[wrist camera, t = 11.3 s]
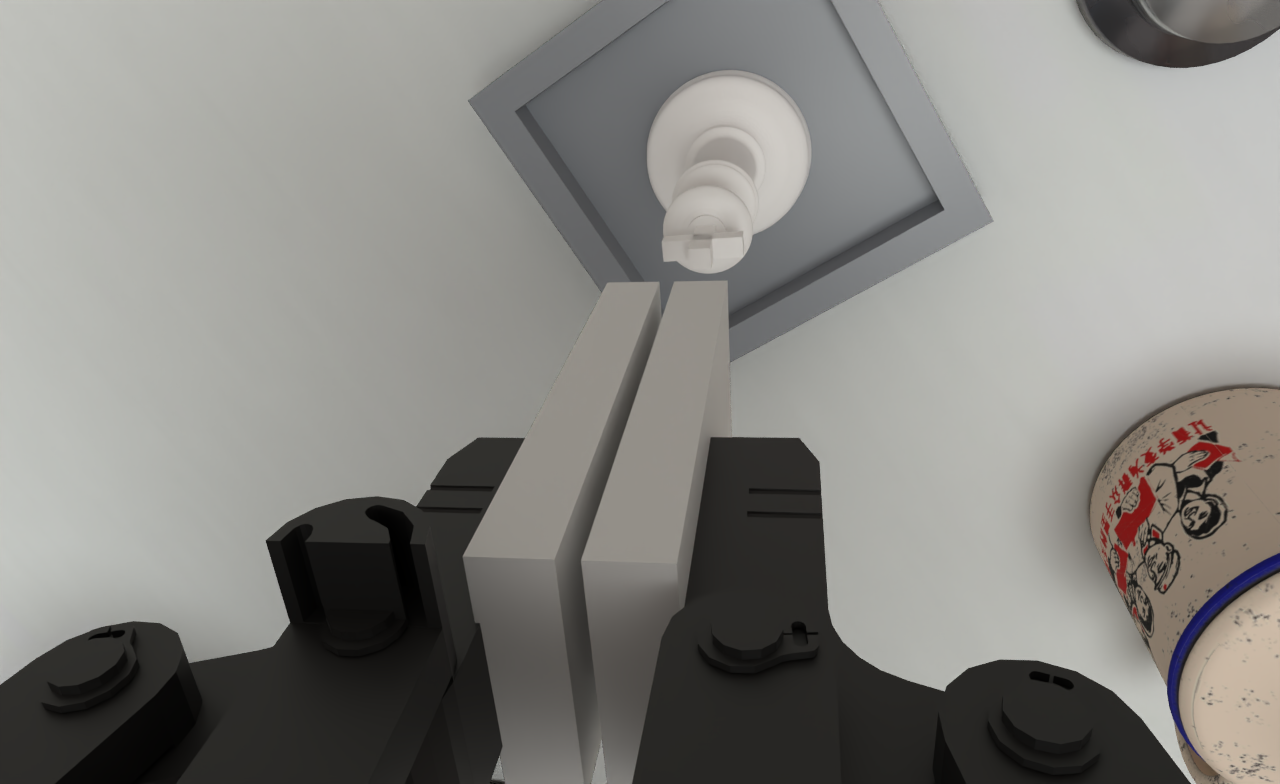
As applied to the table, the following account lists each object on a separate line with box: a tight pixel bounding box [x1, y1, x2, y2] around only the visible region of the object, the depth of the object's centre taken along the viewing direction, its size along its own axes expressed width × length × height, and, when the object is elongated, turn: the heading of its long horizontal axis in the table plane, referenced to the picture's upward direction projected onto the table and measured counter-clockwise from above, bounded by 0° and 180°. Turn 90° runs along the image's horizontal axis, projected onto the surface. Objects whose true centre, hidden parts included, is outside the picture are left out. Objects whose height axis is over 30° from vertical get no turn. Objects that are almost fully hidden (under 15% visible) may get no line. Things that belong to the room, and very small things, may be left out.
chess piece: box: [647, 70, 811, 274], centre depth 23 cm, size 5×5×10 cm
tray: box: [468, 0, 993, 362], centre depth 27 cm, size 11×11×2 cm
